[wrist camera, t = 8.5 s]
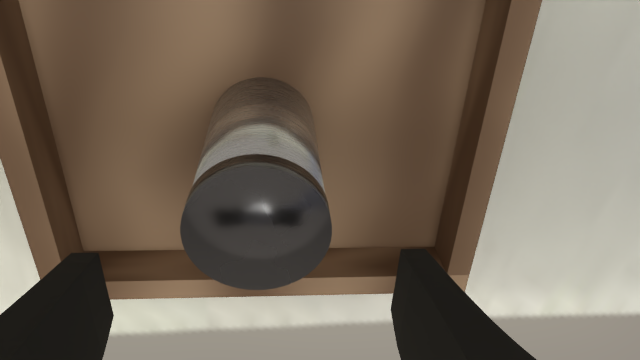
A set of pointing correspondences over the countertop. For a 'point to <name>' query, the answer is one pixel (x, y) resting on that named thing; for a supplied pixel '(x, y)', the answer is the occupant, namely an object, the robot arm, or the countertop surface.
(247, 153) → the steel shaker
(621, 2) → the countertop surface
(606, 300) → the countertop surface
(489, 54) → the walnut tray
